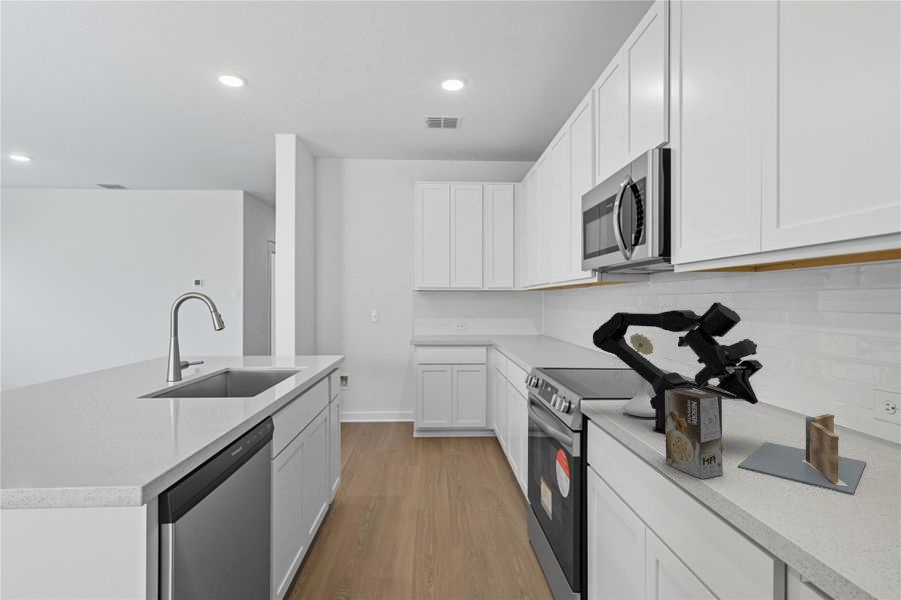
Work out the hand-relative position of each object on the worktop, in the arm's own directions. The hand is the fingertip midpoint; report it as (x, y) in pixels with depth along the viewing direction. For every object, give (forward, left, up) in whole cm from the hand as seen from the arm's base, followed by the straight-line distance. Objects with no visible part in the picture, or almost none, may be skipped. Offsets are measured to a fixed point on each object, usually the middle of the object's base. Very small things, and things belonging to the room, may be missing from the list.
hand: (755, 403), depth 100 cm
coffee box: (-7, -19, -12) cm, 23 cm away
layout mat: (+8, +1, -12) cm, 15 cm away
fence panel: (+12, -3, -11) cm, 17 cm away
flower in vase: (-34, +17, -12) cm, 40 cm away
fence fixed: (+10, +7, -12) cm, 17 cm away
